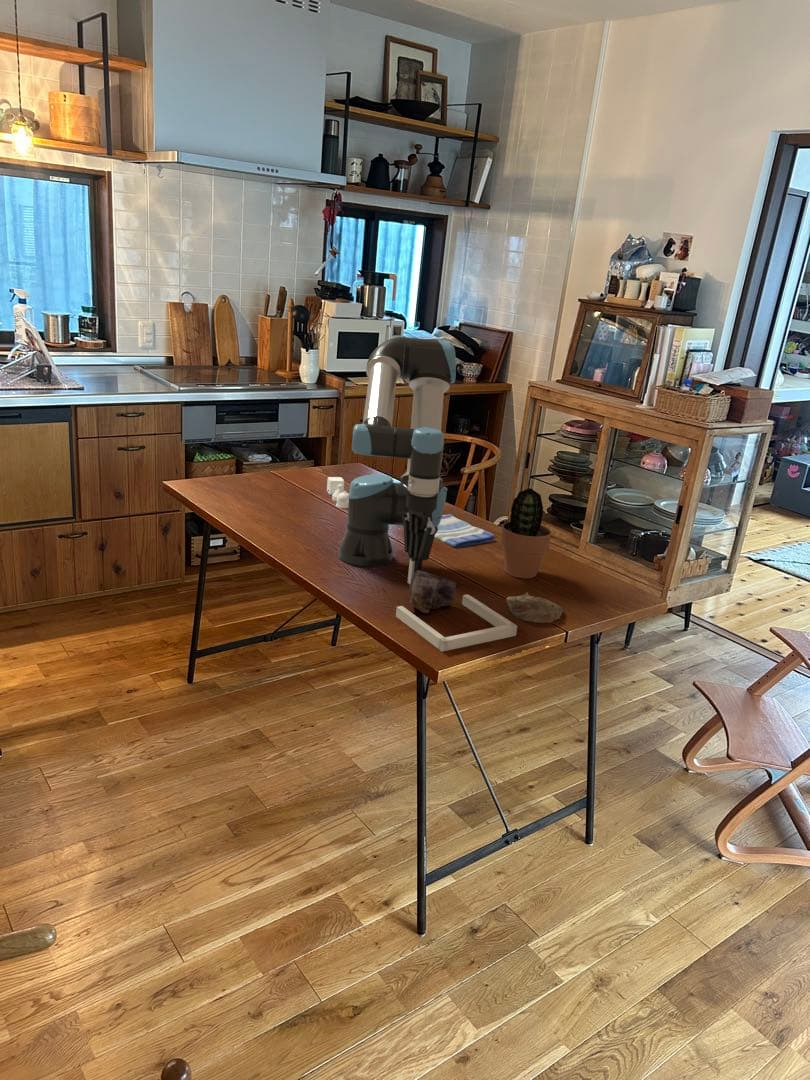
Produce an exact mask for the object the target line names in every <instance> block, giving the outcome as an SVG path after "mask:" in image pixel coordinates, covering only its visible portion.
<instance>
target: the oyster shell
mask: <svg viewBox="0 0 810 1080" xmlns="http://www.w3.org/2000/svg"><path fill="white" fill-rule="evenodd" d="M505 600H506V603H507V605H508V607H509V611H510V612H511V613H512V615H513V616H514V617H515V618H517V619H519V620H522V621H527V622H530V623H537V624H546V623H550V624H552V623H553V622H554V621H557V620H559V619H560V618H561V616H563V615H562V614H563V612H564V609H563V607H561V606H560V605H558V604H557V603H555V602H553V601H551V600H549V599H546V598H543V597H540V596H534V595H533V596H532V595H531V594H530V593H529V592H528V591H526V592H525V594H522V595H517V596H507V598H506V599H505Z"/></svg>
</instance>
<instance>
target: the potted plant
mask: <svg viewBox="0 0 810 1080" xmlns="http://www.w3.org/2000/svg"><path fill="white" fill-rule="evenodd" d="M543 515H544V505H543V501H542V496H541V494H540V493H538V491H536V490H534V489H532V488H531V487H530V488H527V489H523V490H522V491H519V492H518V493H517V496H516V497H514V499H513V502H512V506H511V509H510V519H509V520H510V521H507V522H504V523H503V524H502V525H501V535H500V536H501V537H500V543H501V545H502V548H503V561H504V572H505V573H506V574H507V575H509V576H511V577H514V578H519V579H532V578H534V577H536V576H537V574H538V571H539V569H540V566H541V563H542V560H543V559H544V556H545V552H546V551H548V549H549V548H550V543H551V538H552V537H551V536H552V533H553V531H552V530H551V529H550V528H549V527H548V526H546V525H543V524H542V519H543Z"/></svg>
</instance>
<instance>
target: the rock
mask: <svg viewBox="0 0 810 1080" xmlns="http://www.w3.org/2000/svg"><path fill="white" fill-rule="evenodd" d="M456 587H457V584H456V582H455V581H453V580H451V579H447V578H444V577H442V576H438V575H435V574H433V573H430V572H428V571H425V570H421V571H419V570H417V571H416V573H415V574H414V575H413V578H412V580H411V583H410V584H409V586H408V589H409V602H408V603H409V606H410V607H411V608H414V609H416V610H418V611H420V612H421V613H424V614H429V613H430V610H436V609H439V608H441V607H447V606H452V605H453V604H454V602H455V596H456V590H457V589H456Z"/></svg>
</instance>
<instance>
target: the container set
mask: <svg viewBox="0 0 810 1080" xmlns="http://www.w3.org/2000/svg"><path fill="white" fill-rule="evenodd" d="M328 490H329V491H328ZM326 492H327V493H328V495H331V496H332V498H331V499H332V501H334V502H336V503H335V506H336V507H337V508H339V509H348V506H349V498H348V495H349V493H348V491H345V479H344V478H343V477H341V476H328V477H327V481H326Z"/></svg>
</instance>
